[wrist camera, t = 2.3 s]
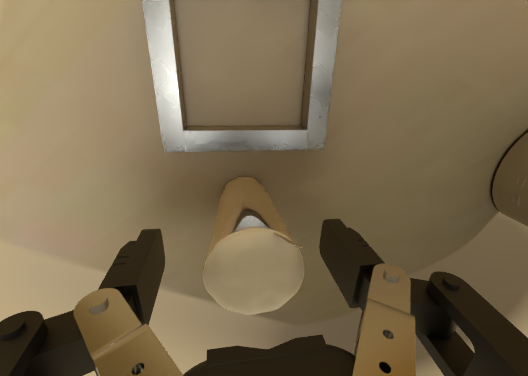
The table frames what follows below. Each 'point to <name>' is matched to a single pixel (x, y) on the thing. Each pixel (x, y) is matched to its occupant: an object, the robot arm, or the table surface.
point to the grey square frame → (241, 137)
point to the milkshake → (251, 252)
